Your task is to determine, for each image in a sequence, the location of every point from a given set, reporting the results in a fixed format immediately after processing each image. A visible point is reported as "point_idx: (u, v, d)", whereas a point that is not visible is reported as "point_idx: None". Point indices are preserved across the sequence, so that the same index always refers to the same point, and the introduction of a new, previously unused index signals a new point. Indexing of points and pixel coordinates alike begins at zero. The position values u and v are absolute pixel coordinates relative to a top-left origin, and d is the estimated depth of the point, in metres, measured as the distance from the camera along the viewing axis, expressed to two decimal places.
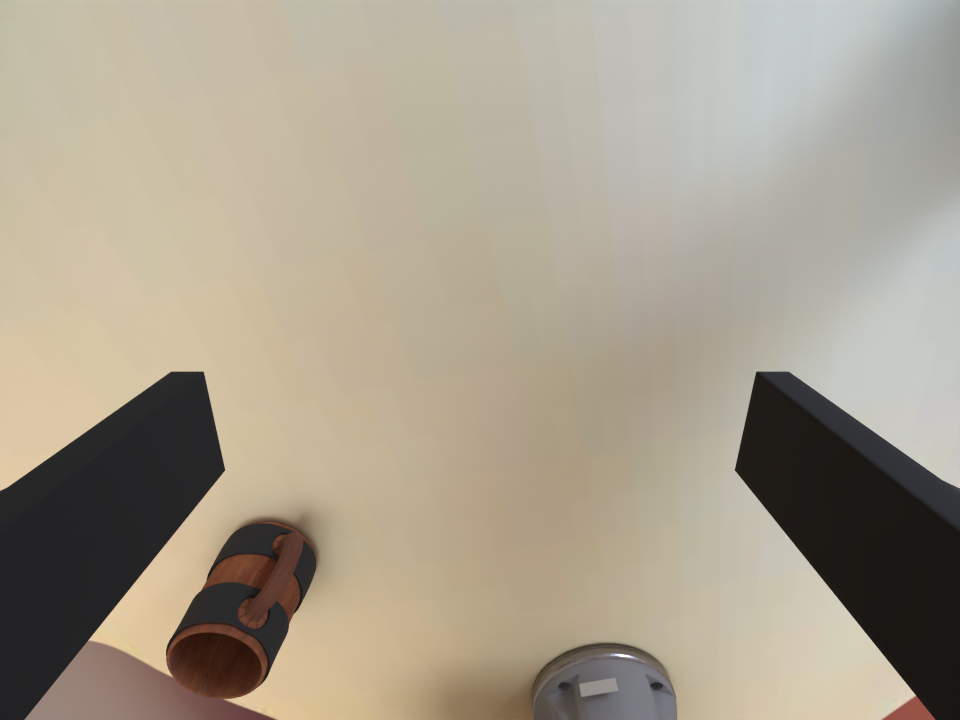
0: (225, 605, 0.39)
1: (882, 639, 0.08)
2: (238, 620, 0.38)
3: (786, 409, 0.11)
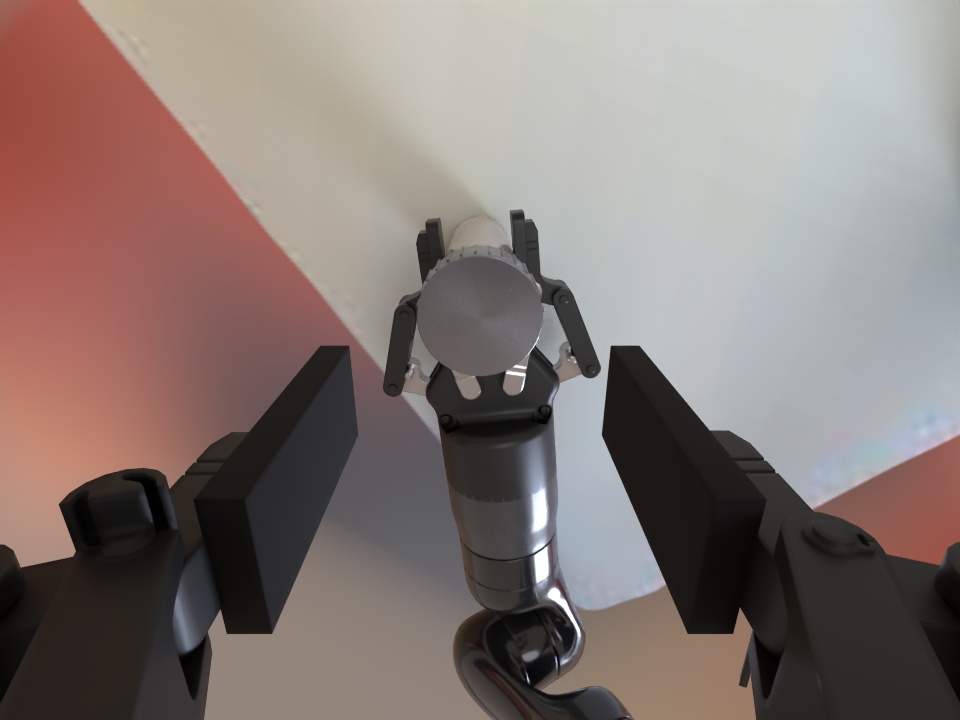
0: None
1: (660, 559, 0.10)
2: None
3: (623, 376, 0.12)
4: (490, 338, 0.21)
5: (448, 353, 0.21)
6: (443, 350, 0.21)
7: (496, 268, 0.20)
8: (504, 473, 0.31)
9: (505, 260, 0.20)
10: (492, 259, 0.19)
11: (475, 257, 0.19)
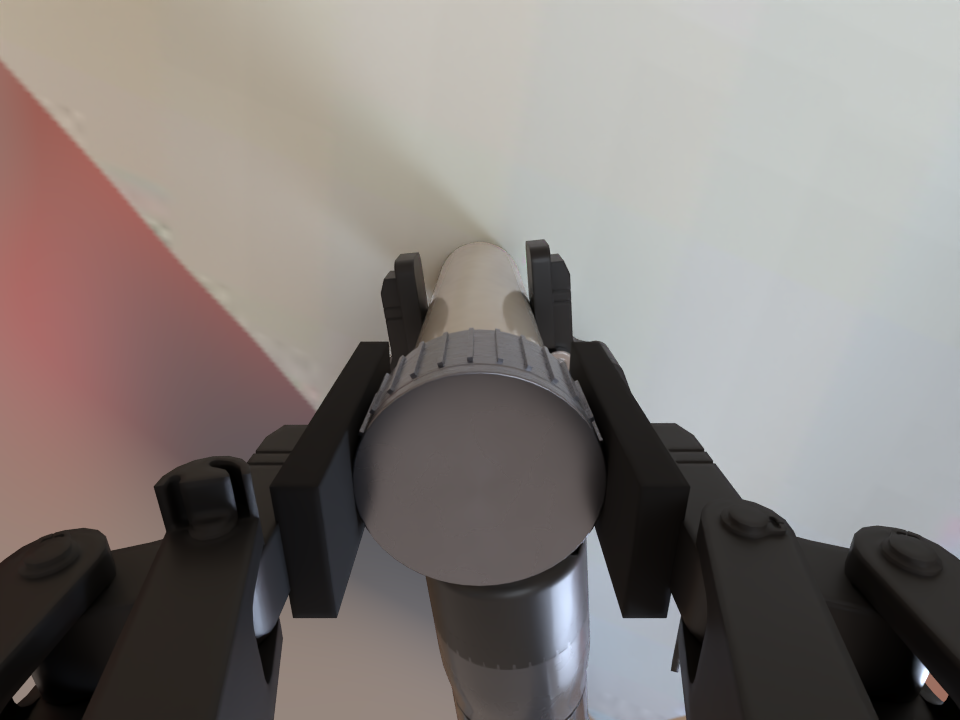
0: None
1: (604, 548, 0.10)
2: None
3: (579, 371, 0.13)
4: (500, 523, 0.10)
5: (417, 548, 0.11)
6: (407, 543, 0.10)
7: (514, 396, 0.09)
8: (516, 632, 0.21)
9: (533, 379, 0.09)
10: (506, 379, 0.09)
11: (470, 375, 0.09)
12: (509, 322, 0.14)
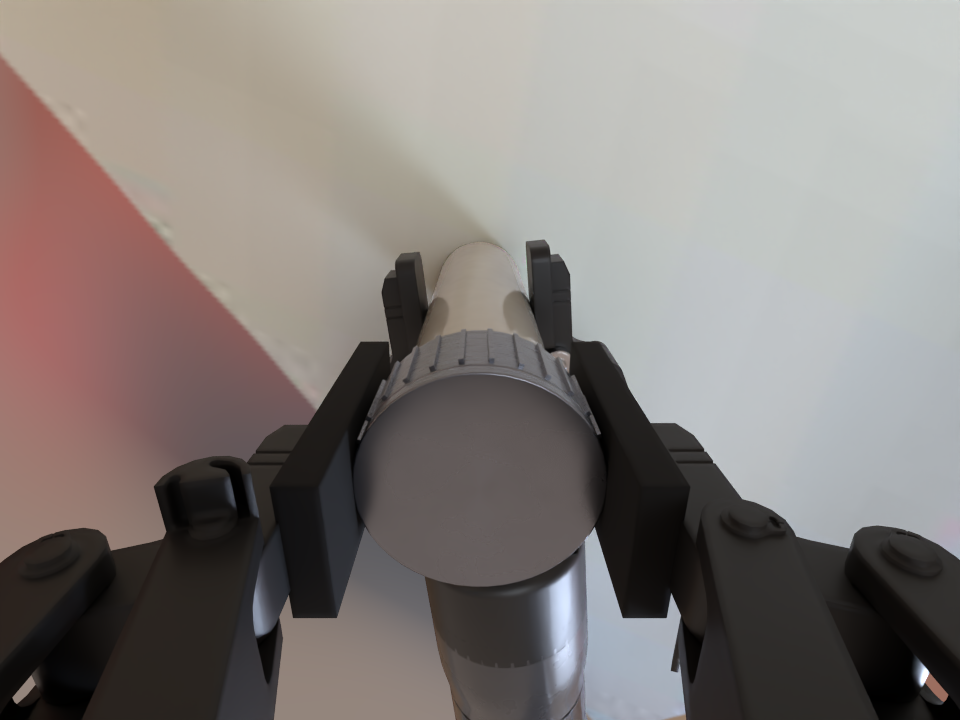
0: None
1: (605, 548, 0.10)
2: None
3: (579, 371, 0.13)
4: (521, 469, 0.10)
5: (556, 537, 0.10)
6: (550, 546, 0.11)
7: (373, 468, 0.10)
8: (514, 630, 0.21)
9: (357, 450, 0.10)
10: (356, 477, 0.10)
11: (358, 504, 0.10)
12: (509, 322, 0.14)
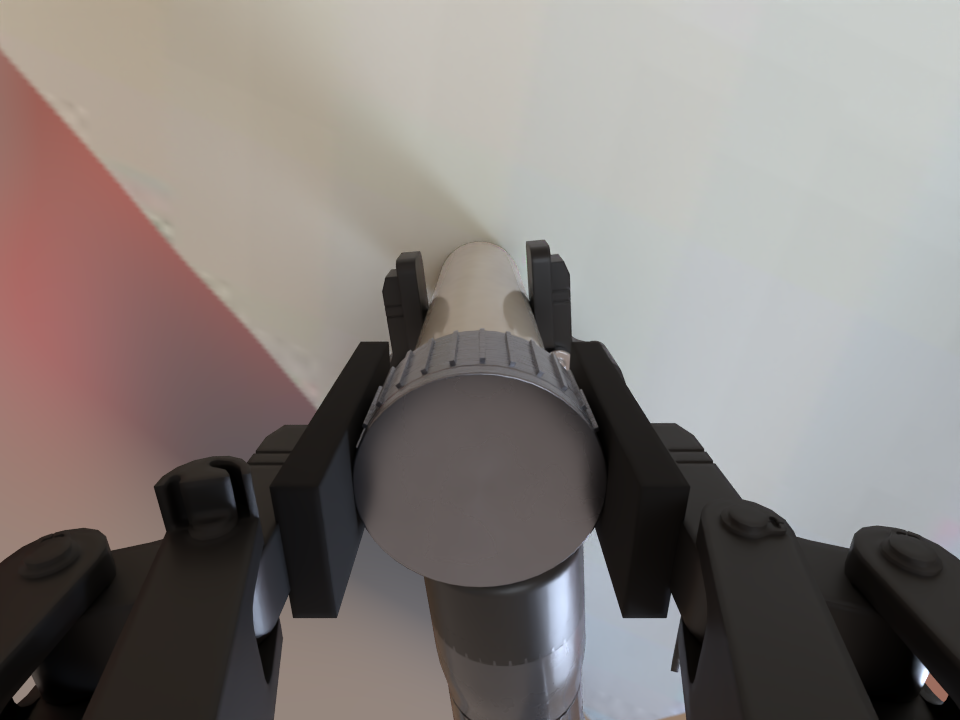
0: None
1: (604, 547, 0.10)
2: None
3: (579, 370, 0.13)
4: (451, 457, 0.10)
5: (538, 415, 0.09)
6: (549, 420, 0.09)
7: (462, 572, 0.11)
8: (512, 628, 0.21)
9: None
10: (472, 585, 0.11)
11: (503, 583, 0.11)
12: (509, 321, 0.14)
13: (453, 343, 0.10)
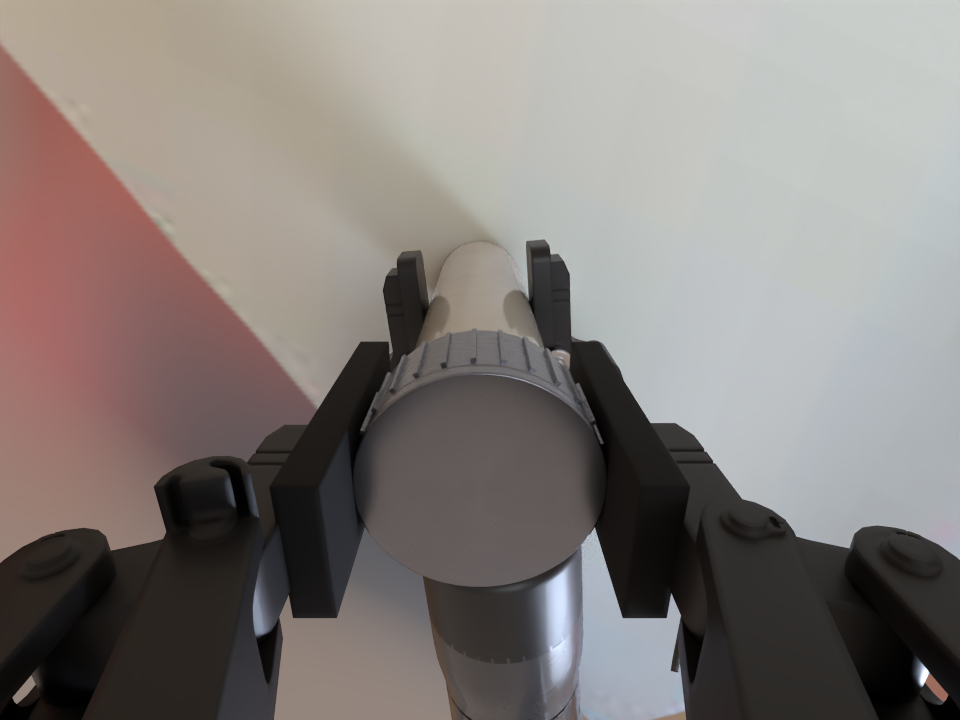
0: None
1: (604, 548, 0.10)
2: None
3: (579, 370, 0.13)
4: (443, 514, 0.10)
5: (389, 447, 0.10)
6: (393, 437, 0.10)
7: (586, 499, 0.10)
8: (510, 626, 0.21)
9: None
10: (603, 490, 0.10)
11: (603, 461, 0.10)
12: (509, 320, 0.14)
13: None
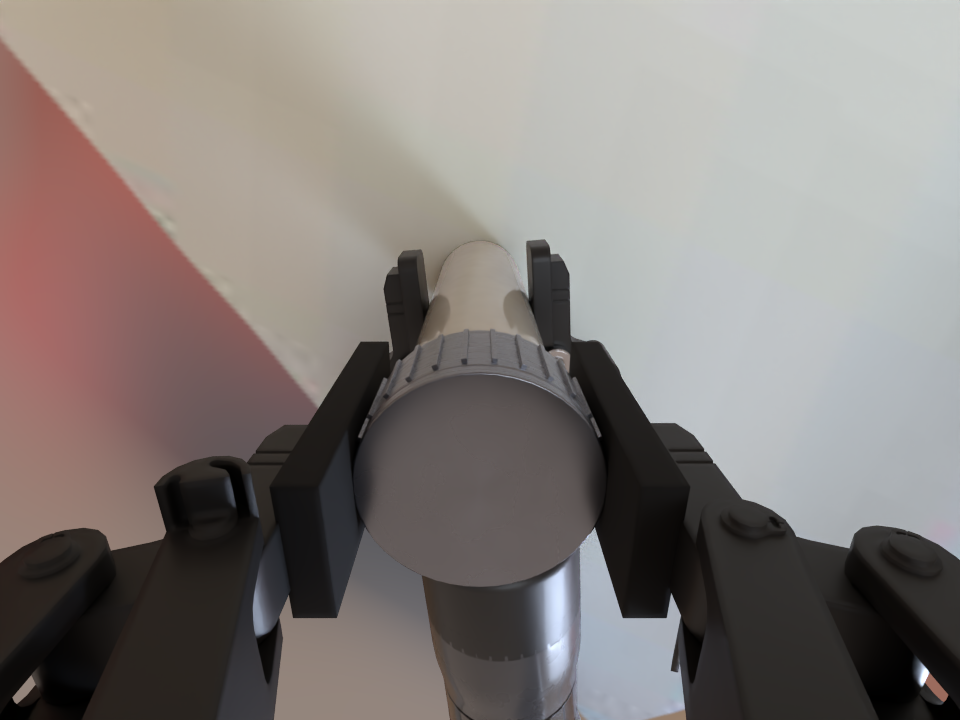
0: None
1: (604, 547, 0.10)
2: None
3: (579, 371, 0.13)
4: (511, 518, 0.10)
5: (439, 560, 0.11)
6: (428, 558, 0.11)
7: (484, 392, 0.09)
8: (508, 624, 0.21)
9: (498, 371, 0.09)
10: (470, 378, 0.09)
11: (434, 383, 0.09)
12: (510, 318, 0.14)
13: None
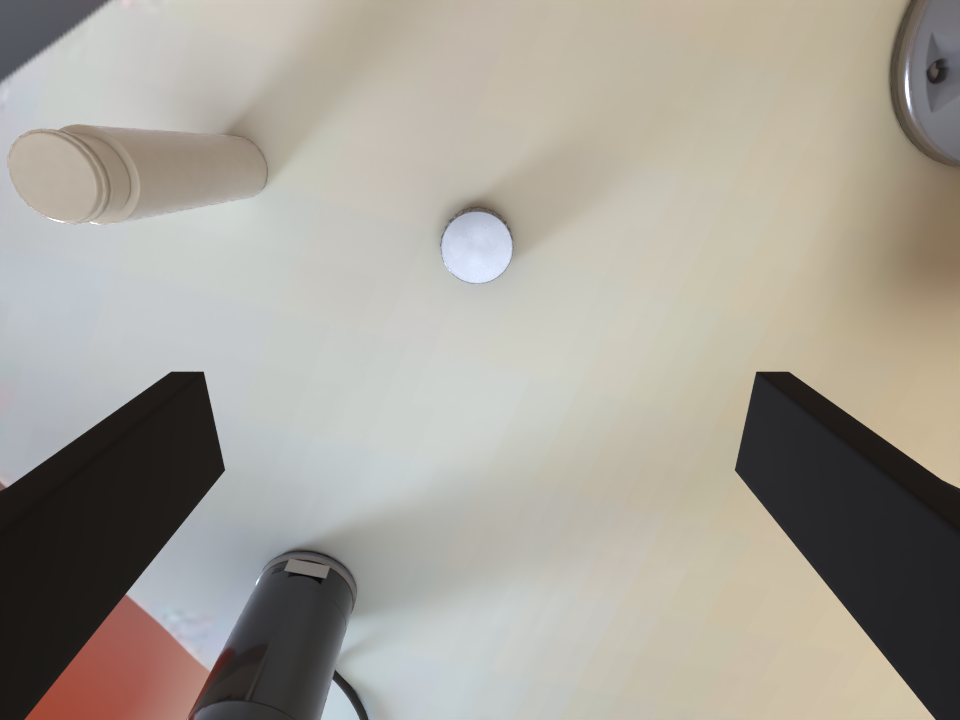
0: None
1: (881, 639, 0.08)
2: None
3: (786, 409, 0.11)
4: (486, 238, 0.35)
5: (502, 258, 0.36)
6: (502, 262, 0.36)
7: (446, 249, 0.36)
8: None
9: (441, 245, 0.36)
10: (442, 253, 0.36)
11: (445, 262, 0.36)
12: (165, 195, 0.25)
13: None
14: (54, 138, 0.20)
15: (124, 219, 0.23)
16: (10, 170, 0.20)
